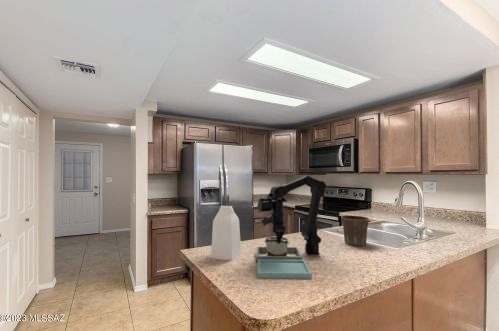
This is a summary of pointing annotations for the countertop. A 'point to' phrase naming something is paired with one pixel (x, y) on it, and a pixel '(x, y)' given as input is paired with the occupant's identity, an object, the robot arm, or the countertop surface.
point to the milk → (226, 235)
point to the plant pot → (355, 230)
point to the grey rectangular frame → (289, 250)
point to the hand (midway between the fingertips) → (278, 241)
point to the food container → (276, 246)
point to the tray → (283, 269)
